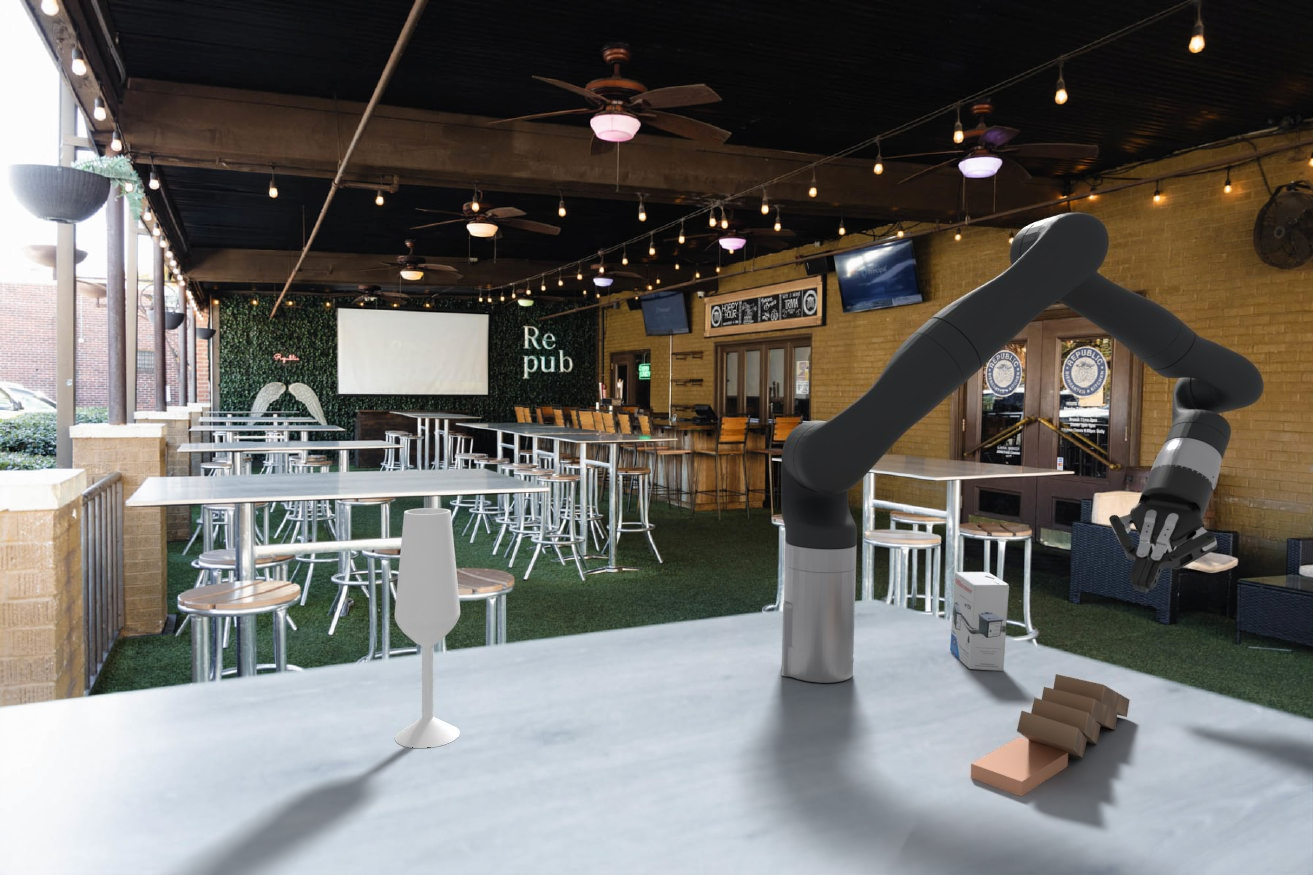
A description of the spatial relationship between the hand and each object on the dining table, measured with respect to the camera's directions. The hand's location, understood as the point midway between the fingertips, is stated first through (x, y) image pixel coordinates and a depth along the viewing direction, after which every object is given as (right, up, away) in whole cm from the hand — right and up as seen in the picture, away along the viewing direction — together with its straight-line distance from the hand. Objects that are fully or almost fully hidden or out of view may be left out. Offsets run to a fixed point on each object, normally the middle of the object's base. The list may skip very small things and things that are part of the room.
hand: (1139, 588), depth 108 cm
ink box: (-16, -12, +11) cm, 23 cm away
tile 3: (-16, -12, -15) cm, 25 cm away
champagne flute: (-85, -13, -17) cm, 88 cm away
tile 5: (-21, -13, -20) cm, 32 cm away
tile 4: (-19, -12, -19) cm, 30 cm away
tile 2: (-11, -12, -11) cm, 20 cm away
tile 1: (-8, -12, -7) cm, 16 cm away
